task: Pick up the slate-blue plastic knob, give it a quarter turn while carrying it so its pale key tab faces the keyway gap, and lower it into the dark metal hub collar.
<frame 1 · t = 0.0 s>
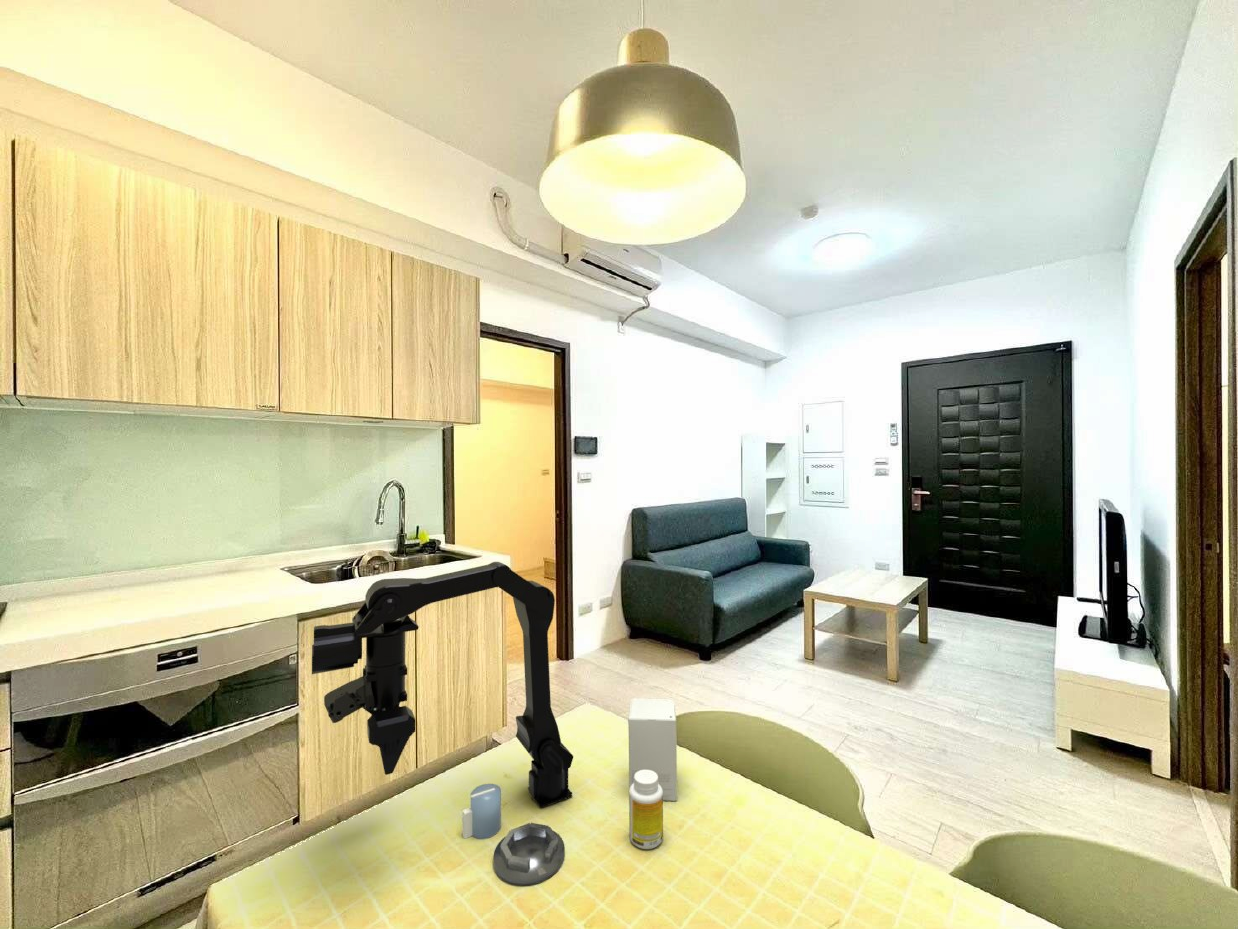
hand: (385, 759, 81), 15 cm above the table, fingers open, 9 cm apart
supplement box: (653, 787, 98), on the table
hub: (529, 857, 80), on the table
knob: (485, 828, 86), on the table
supplement bottle: (646, 840, 84), on the table
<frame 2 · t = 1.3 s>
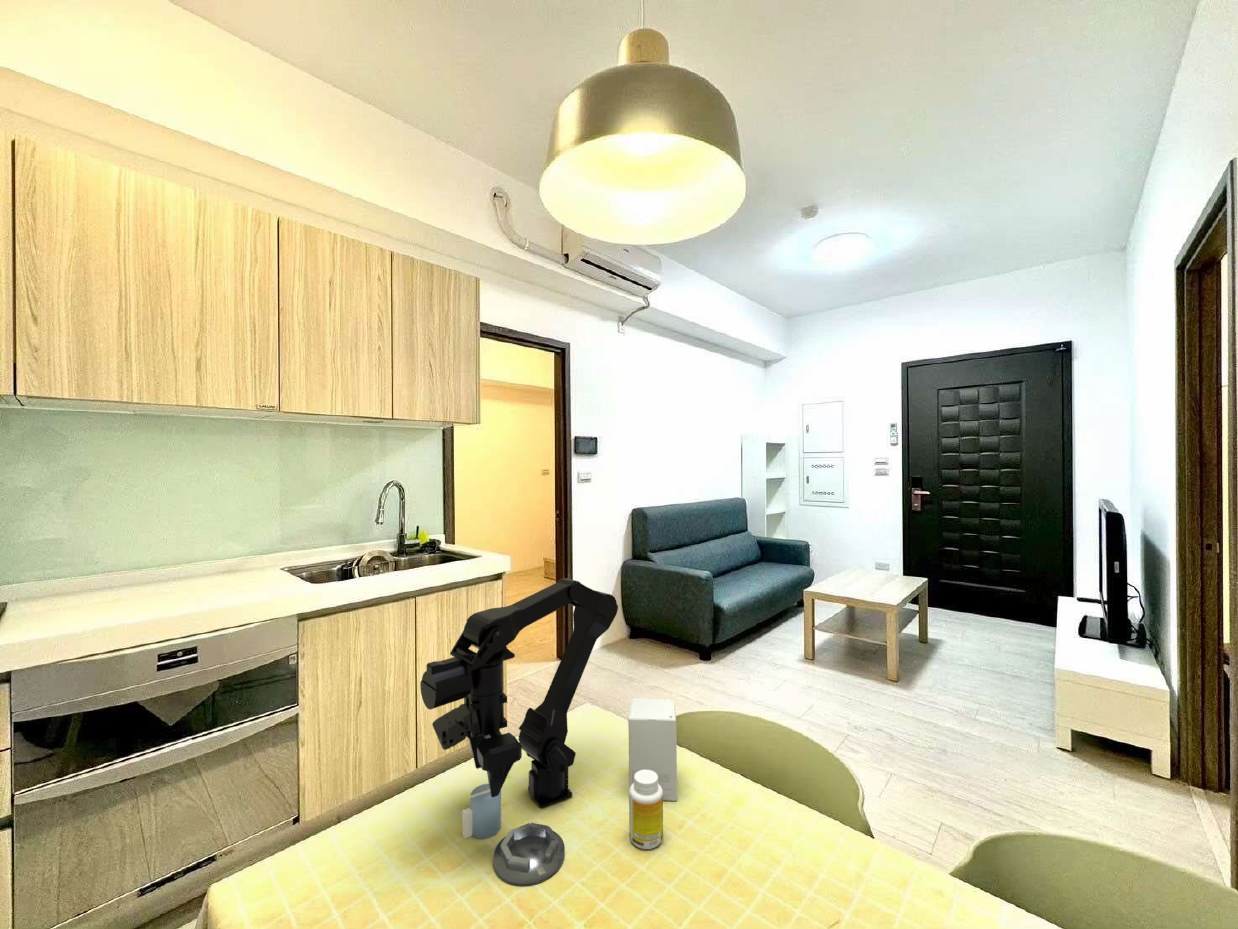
hand: (486, 781, 86), 8 cm above the table, fingers open, 9 cm apart
nothing on the table moved.
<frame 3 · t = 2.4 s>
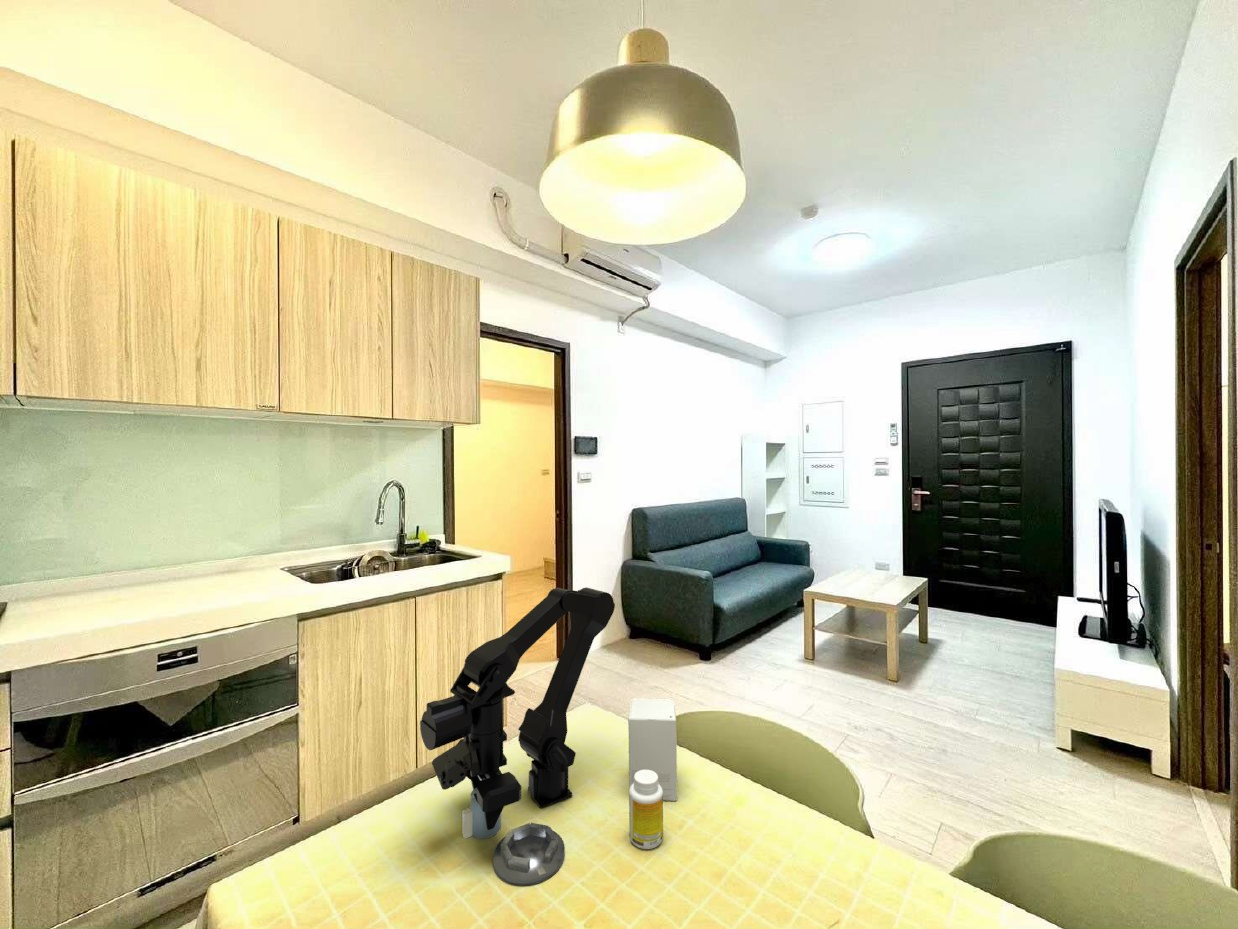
hand: (485, 819, 86), 2 cm above the table, fingers closed on knob, 5 cm apart
knob: (485, 828, 86), on the table, touching gripper
everything else where it was.
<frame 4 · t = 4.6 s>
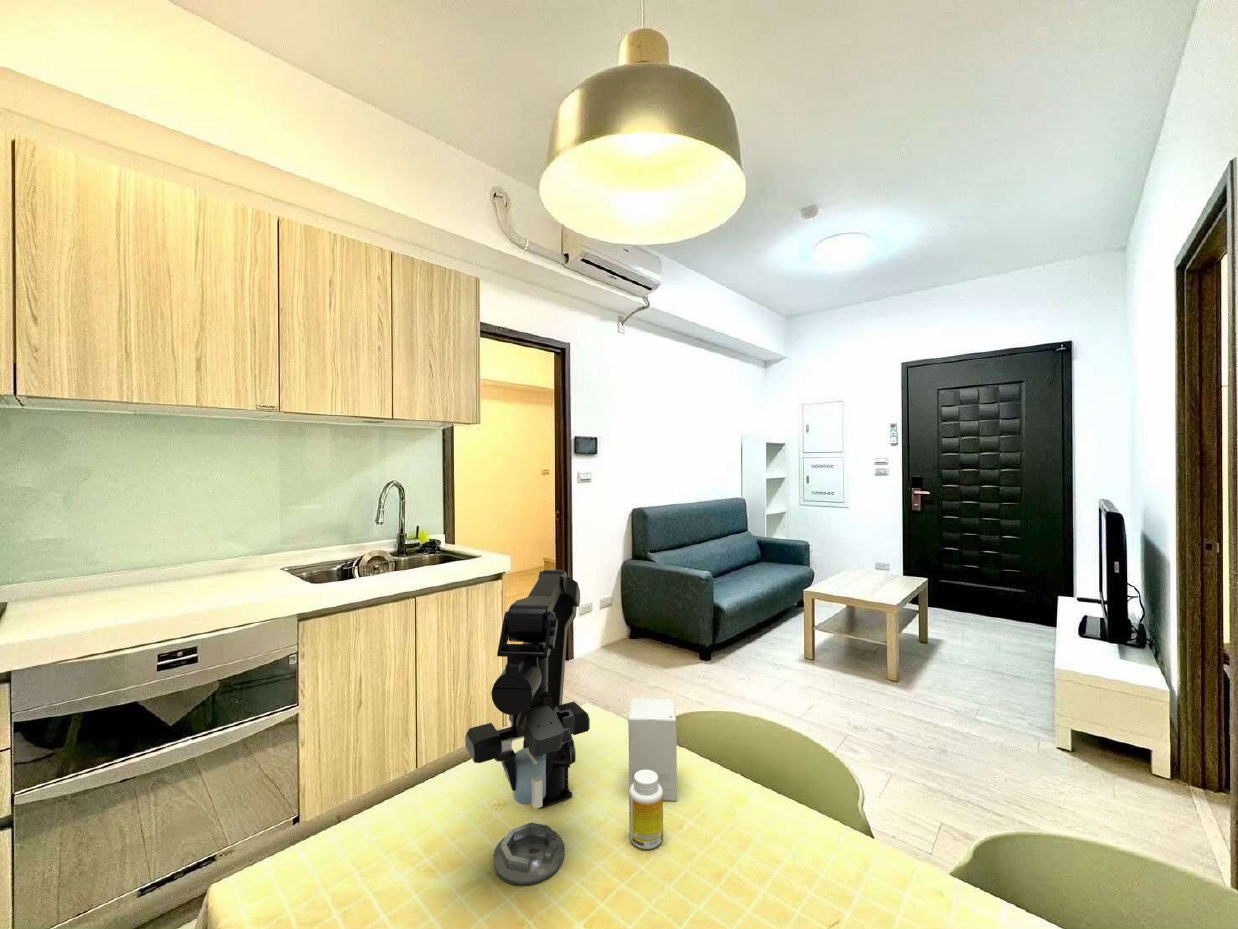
hand: (529, 784, 80), 11 cm above the table, fingers closed on knob, 5 cm apart
knob: (529, 794, 80), point 10 cm above the table, touching gripper
everything else where it was.
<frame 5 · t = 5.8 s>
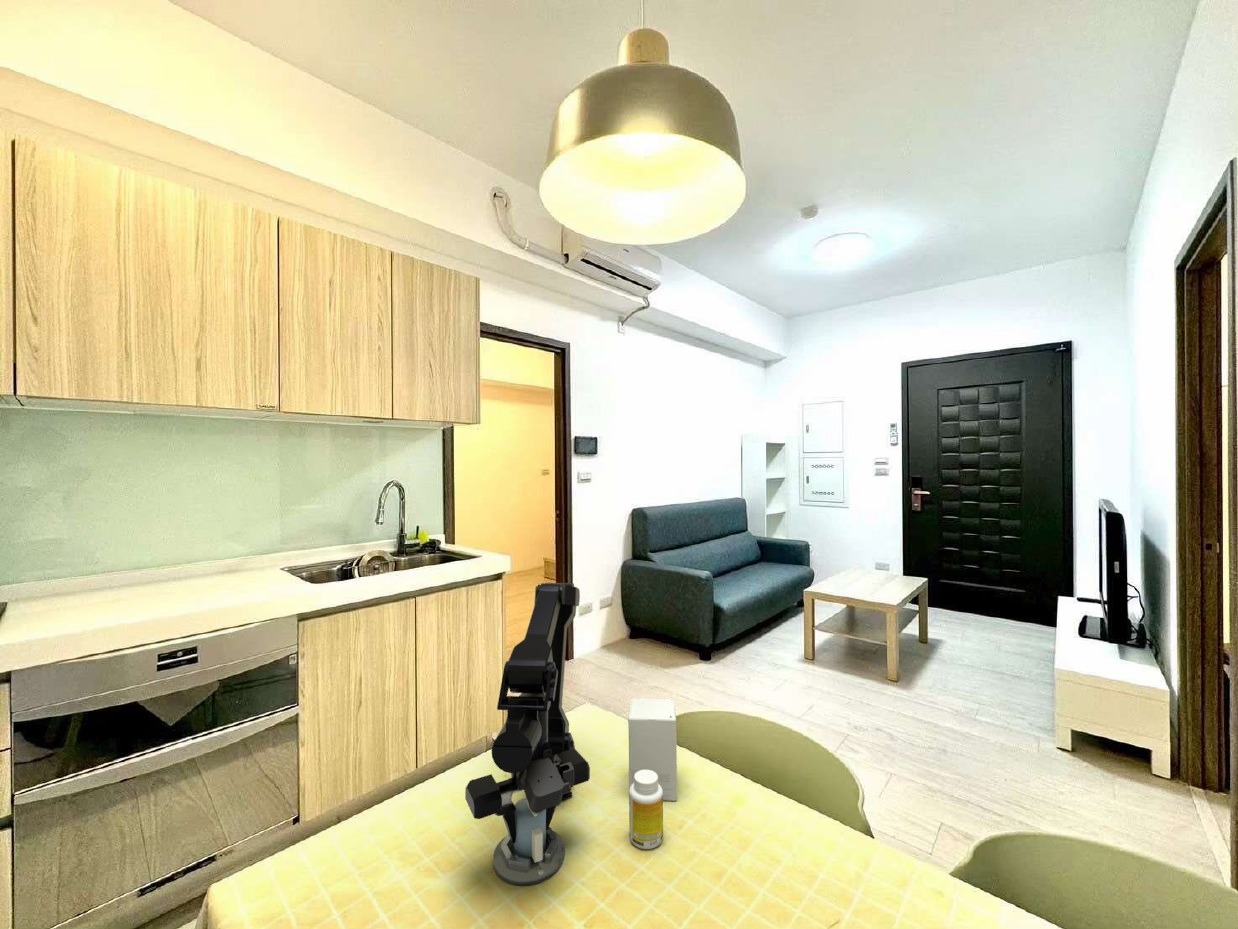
hand: (529, 835, 80), 3 cm above the table, fingers closed on knob, 5 cm apart
knob: (529, 845, 80), point 2 cm above the table, touching gripper
everything else where it was.
when the fingers open (3 cm above the table, at t = 6.6 s): knob stays where it is, resting on hub.
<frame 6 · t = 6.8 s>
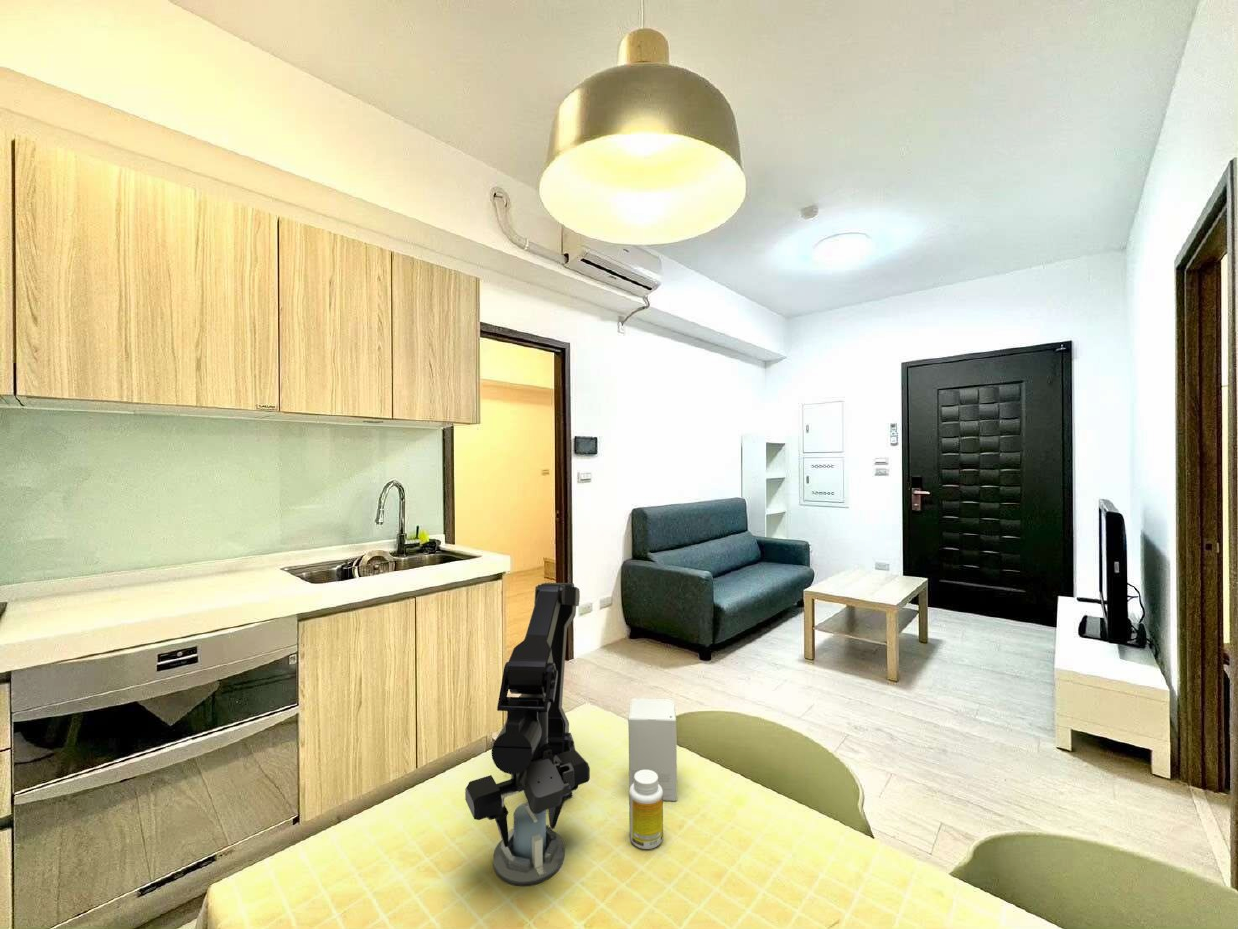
hand: (529, 836, 80), 3 cm above the table, fingers open, 7 cm apart
knob: (529, 851, 80), point 1 cm above the table, touching hub
everything else where it was.
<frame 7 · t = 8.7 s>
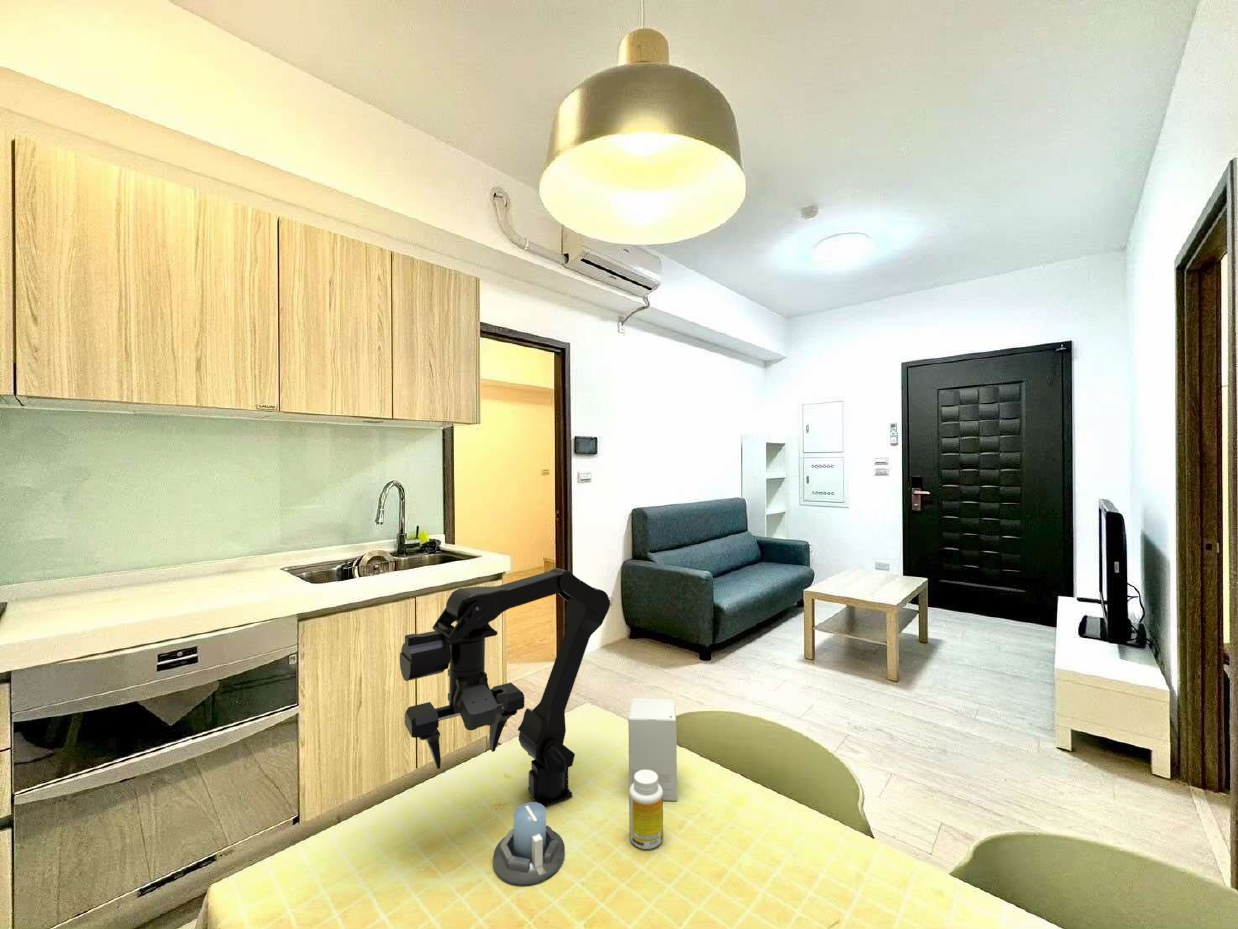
hand: (466, 759, 85), 12 cm above the table, fingers open, 9 cm apart
nothing on the table moved.
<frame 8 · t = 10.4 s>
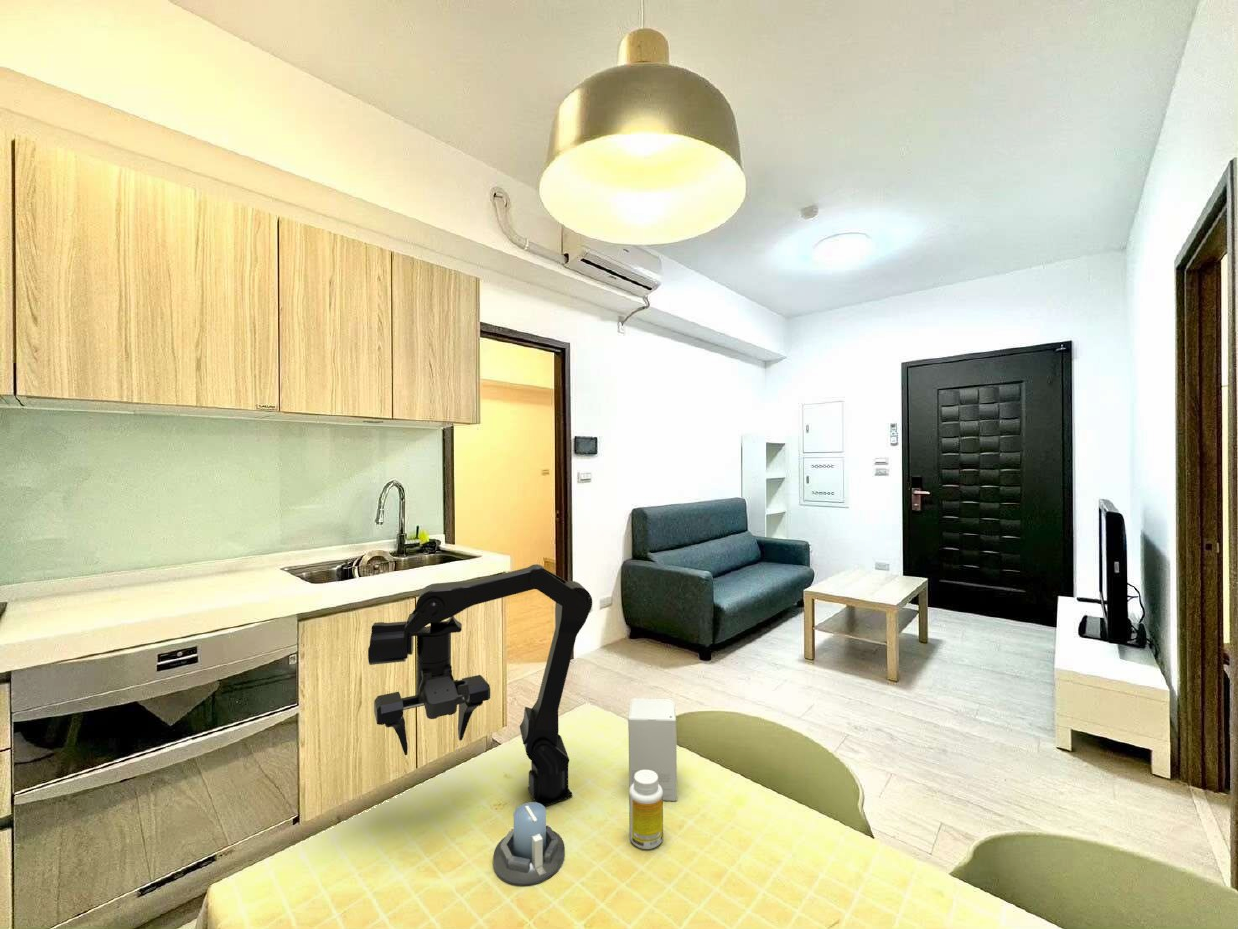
hand: (433, 746, 90), 12 cm above the table, fingers open, 9 cm apart
nothing on the table moved.
at the end: knob 0.1 cm from the hub (horizontally); knob point 1.0 cm above the table; knob tilted 0° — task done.
